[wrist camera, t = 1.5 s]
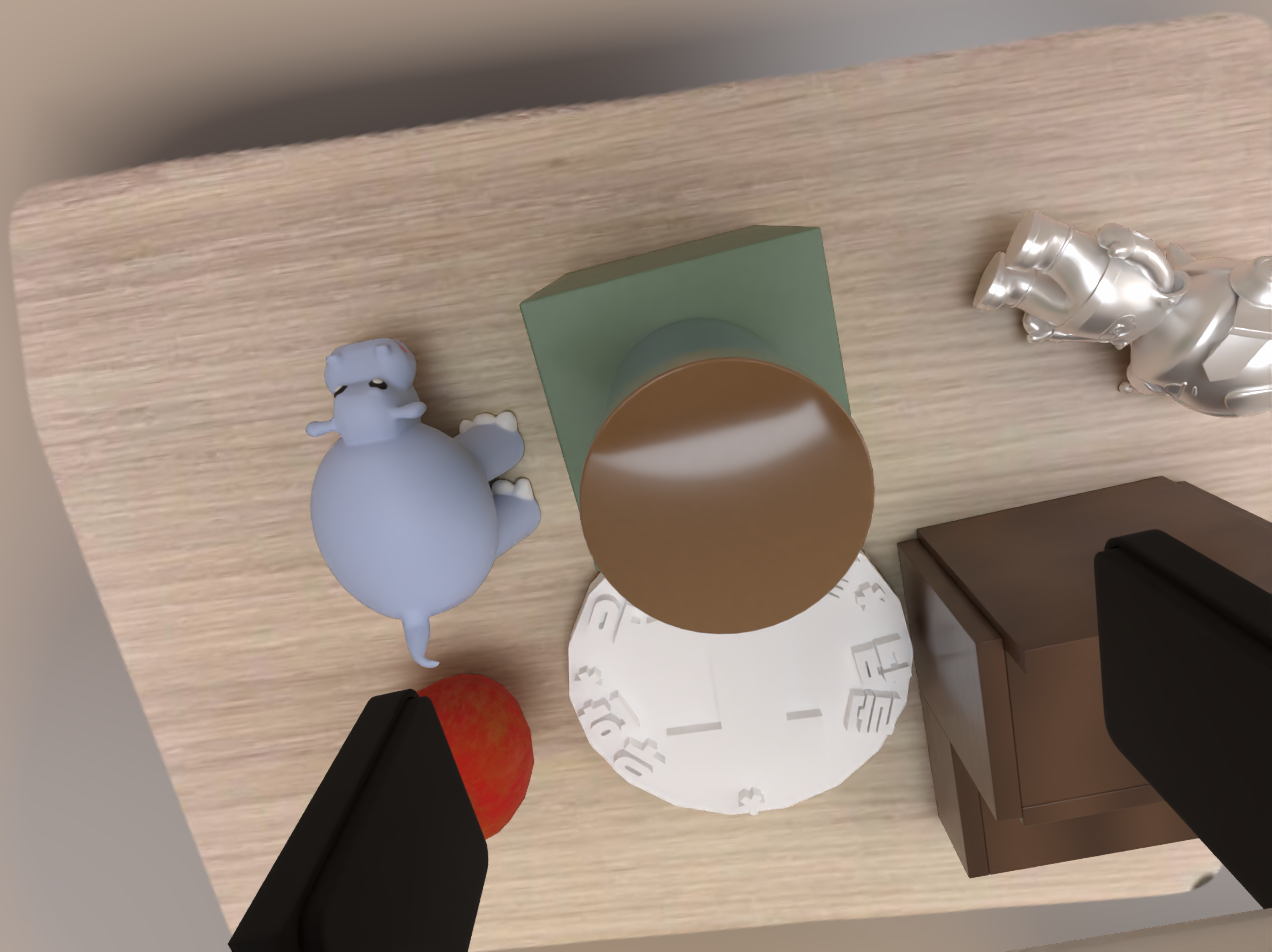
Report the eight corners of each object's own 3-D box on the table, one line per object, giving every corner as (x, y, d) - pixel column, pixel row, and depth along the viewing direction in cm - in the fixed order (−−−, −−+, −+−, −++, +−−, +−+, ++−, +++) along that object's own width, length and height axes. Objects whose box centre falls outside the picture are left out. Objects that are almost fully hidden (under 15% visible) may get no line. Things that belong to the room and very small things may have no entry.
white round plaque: (547, 760, 49) (542, 792, 46) (599, 473, 43) (596, 490, 40) (850, 809, 50) (862, 844, 47) (944, 535, 43) (964, 557, 41)
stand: (755, 224, 38) (820, 226, 24) (791, 412, 41) (867, 512, 27) (564, 273, 39) (518, 303, 25) (613, 454, 42) (596, 572, 28)
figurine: (1060, 216, 30) (1434, 363, 29) (1082, 110, 34) (1417, 237, 33) (936, 369, 40) (1215, 485, 38) (963, 274, 43) (1220, 377, 42)
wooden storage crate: (1184, 470, 42) (1407, 573, 30) (1191, 769, 48) (1378, 957, 36) (895, 533, 43) (993, 656, 31) (938, 816, 50) (1034, 1012, 37)
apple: (522, 766, 49) (489, 911, 39) (394, 726, 48) (326, 862, 38) (566, 658, 46) (543, 782, 36) (431, 613, 45) (369, 727, 35)
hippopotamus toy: (490, 308, 40) (445, 334, 31) (555, 565, 44) (531, 653, 35) (295, 348, 41) (194, 383, 32) (378, 596, 45) (311, 689, 36)
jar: (780, 288, 25) (850, 324, 16) (815, 481, 27) (894, 602, 18) (578, 339, 25) (543, 398, 17) (628, 523, 27) (619, 660, 19)
